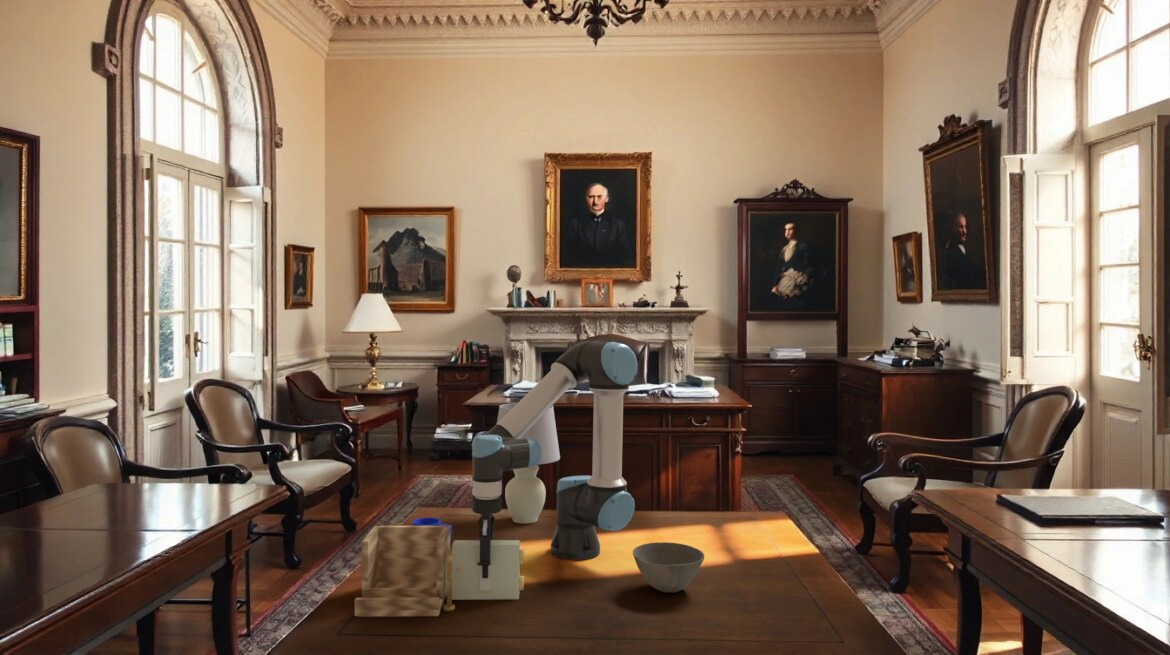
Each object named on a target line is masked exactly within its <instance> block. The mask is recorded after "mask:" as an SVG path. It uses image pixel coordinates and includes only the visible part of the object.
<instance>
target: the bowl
mask: <svg viewBox="0 0 1170 655" xmlns="http://www.w3.org/2000/svg"><path fill="white" fill-rule="evenodd" d="M632 556H633V558H634V561H635V564H636V566H637V568H638V571H639V573H640V575H641V576H642V577H643V579H644V580H645V581H646V583H647V584H649V585H650V586H651V587H652V588H654V589H656V591H659V592H662V593H678V592H680V591H682V590H685V589H686V588H687V587H688V586H689V584H691V582H692V581H693V580H694V578H695V577H696V575H697V573H698V572H699V570H700V569H701V566H702V564H703V562H704V560H705V554H704V552H703V551H702V550H700V549H698V548H696V547H693V546H690V545H688V544H683V543H679V542H678V543H677V542H667V541H666V542H661V541H660V542H649V543H643V544H640V545H638V546H636V547H635V548H634V549H633V550H632Z"/></svg>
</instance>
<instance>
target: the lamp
mask: <svg viewBox="0 0 1170 655" xmlns="http://www.w3.org/2000/svg"><path fill="white" fill-rule="evenodd" d="M517 403H518V402H513V403H505V404H500V405H499V406H498V407H499V408H498V414H497V421H496V424H497V423H498V422H499V421H500V420H501V419H502V418H503V417H504V416H505V415H506V414H507V413H508V412H509V411H510V410H511V409H512V408H513V407H514V406H515V405H516V404H517ZM525 438H527V439H532V438H533V439H535V440H537V441H538V442H539V444H540V446H541V450H542V452H541V453H542V454H541V455H542V457H541V460H540V462H539V463H538V464H537V465H535V466H532V467H528V468H520V469H513V470H512V472H513V473H514V477H513V478H511V479H510V480H509V481H508V482H507V484H506V486H505V489H504V490H505V494H504V497H505V503H506V506H507V509H508V512H509V514H510V516H511V519H512V521H513V522H514V523H517V524H523V525H526V524H532V523H533V524H534V523H535V522H537V521H538V520H539V517H540V514H541V513H542V510H543V508H544V505H545V503H546V496H547V494H546V493H547V492H546V487H545V484H544V482H543V481H542V480H541V479H540V478H539V477H538V476H537V474H538V471H539V470H540V467H539V465H545V464H551V463H555V462H558V461H560V459H561V454H560V448H559V441H558V440H559V439H558V432H557V427H556V418H555V409H554V405H552V406H551V407H550V408H549V409H548V410H547V411H546V412H545V413H544V414H543V415H542V416H541V417H540V418H539V419H538V420H537V421H536V422H535V423H534V424H533V425H532V426H531V427H530V428H529V429H528V430H527V431H526V432H525V433H524V434H523V435H522V436H521V437H520V438H519V439H525Z"/></svg>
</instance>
